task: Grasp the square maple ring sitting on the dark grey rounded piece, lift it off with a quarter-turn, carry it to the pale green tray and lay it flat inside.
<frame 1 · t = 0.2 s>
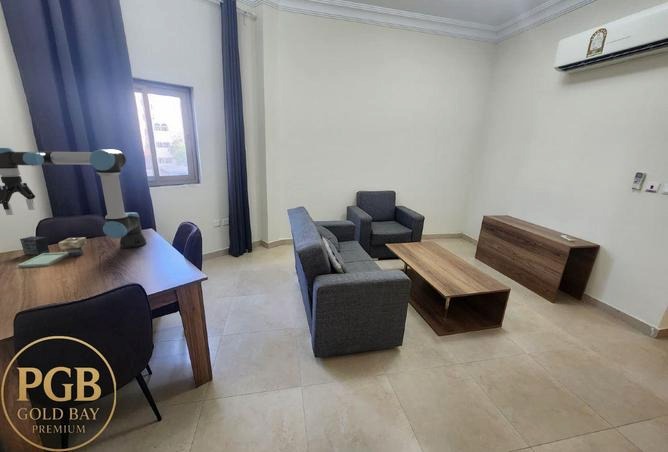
hand: (21, 212, 158), 27 cm above the table, fingers open, 13 cm apart
small box: (37, 253, 169), on the table
dark grey rounded piece: (76, 255, 168), on the table
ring: (73, 246, 167), point 6 cm above the table, touching dark grey rounded piece
tray: (46, 260, 159), on the table
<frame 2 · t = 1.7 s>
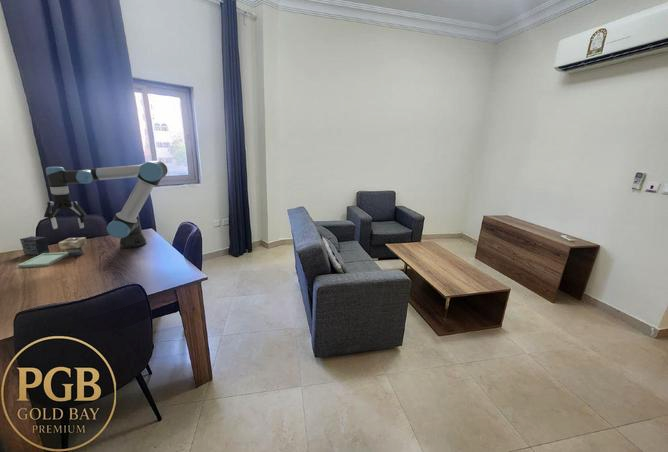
hand: (69, 228, 163), 18 cm above the table, fingers open, 13 cm apart
nothing on the table moved.
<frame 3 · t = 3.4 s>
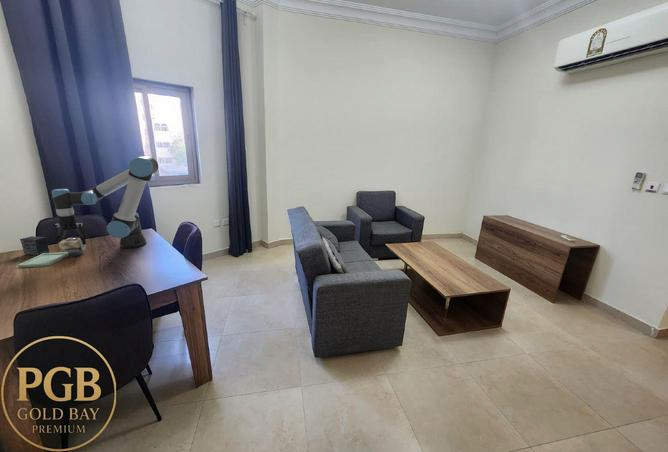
hand: (74, 249, 167), 3 cm above the table, fingers closed on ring, 9 cm apart
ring: (73, 246, 167), point 6 cm above the table, touching gripper, dark grey rounded piece
everything else where it was.
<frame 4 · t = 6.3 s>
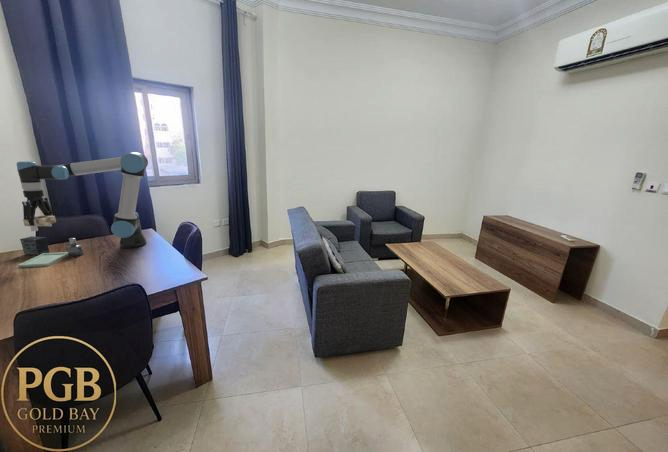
hand: (42, 228, 156), 19 cm above the table, fingers closed on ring, 9 cm apart
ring: (41, 224, 155), point 22 cm above the table, touching gripper
everything else where it was.
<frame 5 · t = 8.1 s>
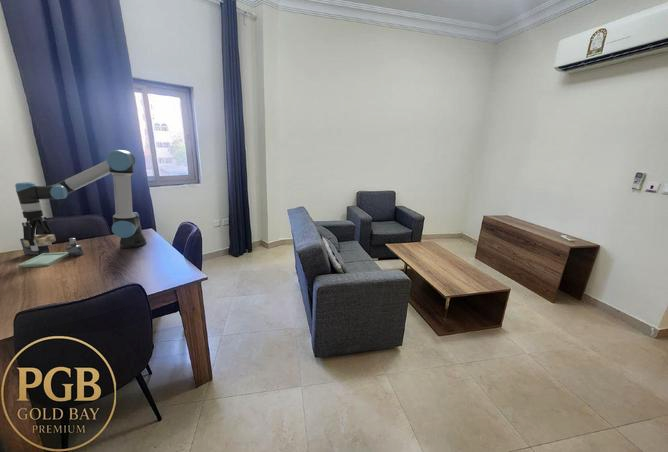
hand: (42, 247, 157), 8 cm above the table, fingers closed on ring, 9 cm apart
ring: (40, 243, 156), point 11 cm above the table, touching gripper
everything else where it was.
when the fingers open (2 cm above the table, at t = 9.6 s): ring drops 4 cm, resting on tray.
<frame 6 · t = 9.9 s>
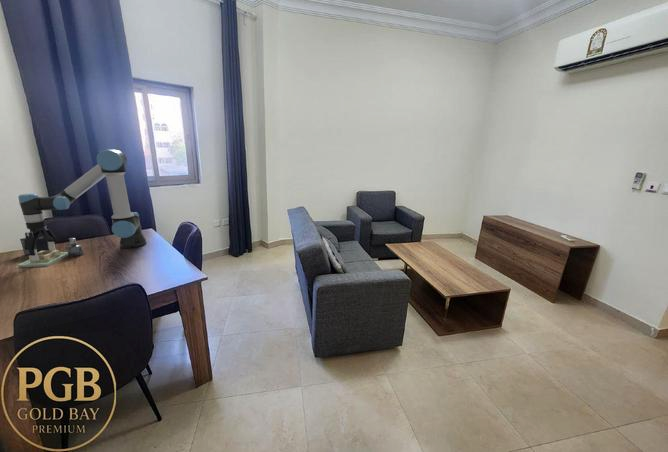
hand: (45, 256, 159), 3 cm above the table, fingers open, 12 cm apart
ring: (46, 259, 159), point 1 cm above the table, touching tray
everything else where it was.
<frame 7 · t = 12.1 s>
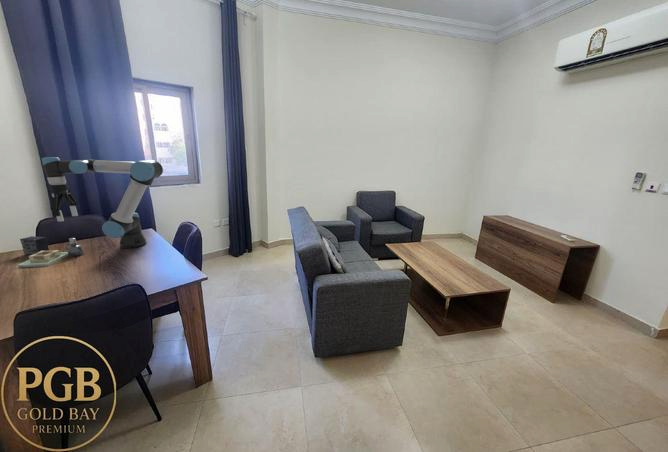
hand: (68, 218, 165), 23 cm above the table, fingers open, 13 cm apart
nothing on the table moved.
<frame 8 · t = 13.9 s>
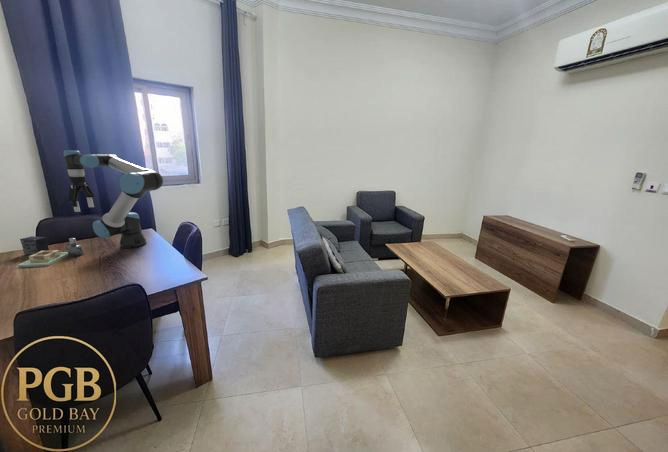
hand: (84, 209, 173), 27 cm above the table, fingers open, 13 cm apart
nothing on the table moved.
at the end: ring inside the target area on the tray (0.1 cm from its centre), point 0.6 cm above the tray's base; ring tilted 0° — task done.
